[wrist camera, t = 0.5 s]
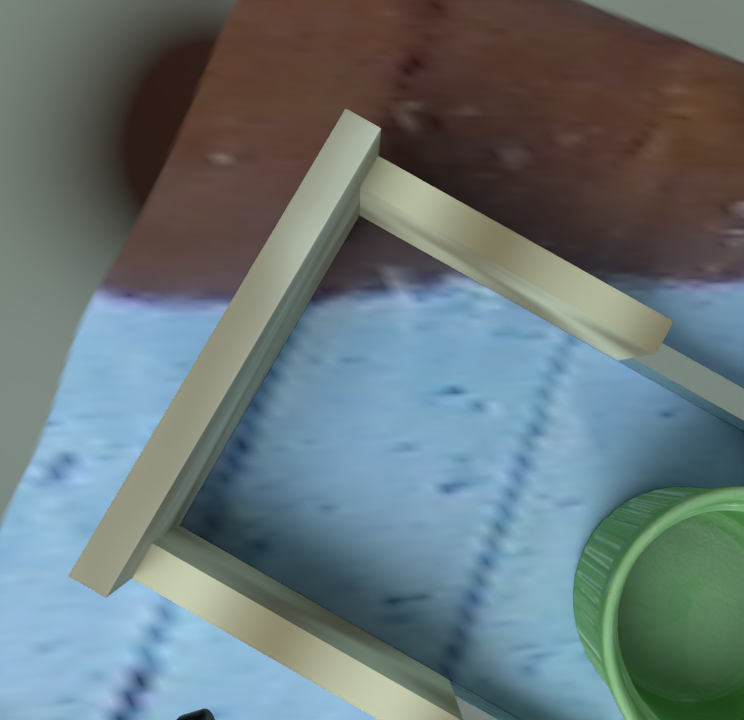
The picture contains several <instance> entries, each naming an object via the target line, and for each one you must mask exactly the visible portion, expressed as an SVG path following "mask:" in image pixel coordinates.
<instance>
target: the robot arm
mask: <svg viewBox="0 0 744 720" xmlns="http://www.w3.org/2000/svg"><path fill="white" fill-rule="evenodd" d="M177 720H215V719H214V716H213V714H212V713H211V712H210V710H208V709H201V710H198V711H194V712H191V713H188V714H184V715H182V716H180V717H179V718H178V719H177Z"/></svg>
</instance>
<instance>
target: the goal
mask: <svg viewBox="0 0 744 720" xmlns="http://www.w3.org/2000/svg"><path fill="white" fill-rule="evenodd" d="M380 134H381V128H379V127H378V126H376V125H374V124H372V123H370V122H369V121H367V120H365V119H363V118H361V117H360V116H358V115H356V114H354V113H353V112H351V111H349V110H347V109H345V111H344V112H343V114H342V116H341V117H340V119H339V121H338V122H337V124H336V126H335V128H334V129H333V131H332V133H331V134H330V136H329V138H328V139H327V141H326V143H325V144H324V146H323V148H322V149H321V151H320V153H319V155H318V156H317V158H316V160H315V161H314V163H313V165H312V166H311V168H310V170H309V171H308V173H307V175H306V176H305V178H304V180H303V181H302V183H301V185H300V187H299V188H298V190H297V192H296V193H295V195H294V197H293V198H292V200H291V202H290V203H289V205H288V207H287V208H286V210H285V212H284V213H283V215H282V217H281V219H280V220H279V222H278V224H277V225H276V227H275V229H274V230H273V232H272V234H271V235H270V237H269V239H268V240H267V242H266V244H265V245H264V247H263V249H262V251H261V252H260V254H259V256H258V257H257V259H256V261H255V262H254V264H253V266H252V267H251V269H250V271H249V272H248V274H247V276H246V278H245V279H244V281H243V283H242V284H241V286H240V288H239V289H238V291H237V293H236V294H235V296H234V298H233V299H232V301H231V303H230V304H229V306H228V308H227V310H226V311H225V313H224V315H223V316H222V318H221V320H220V321H219V323H218V325H217V326H216V328H215V330H214V331H213V333H212V335H211V336H210V338H209V340H208V342H207V343H206V345H205V347H204V348H203V350H202V352H201V353H200V355H199V357H198V358H197V360H196V362H195V363H194V365H193V367H192V368H191V370H190V372H189V374H188V375H187V377H186V379H185V380H184V382H183V384H182V385H181V387H180V389H179V390H178V392H177V394H176V395H175V397H174V399H173V400H172V402H171V404H170V406H169V407H168V409H167V411H166V412H165V414H164V416H163V417H162V419H161V421H160V422H159V424H158V426H157V427H156V429H155V431H154V433H153V434H152V436H151V438H150V439H149V441H148V443H147V444H146V446H145V448H144V449H143V451H142V453H141V454H140V456H139V458H138V459H137V461H136V463H135V465H134V466H133V468H132V470H131V471H130V473H129V475H128V476H127V478H126V480H125V481H124V483H123V485H122V486H121V488H120V490H119V491H118V493H117V495H116V497H115V498H114V500H113V502H112V503H111V505H110V507H109V508H108V510H107V512H106V513H105V515H104V517H103V518H102V520H101V522H100V523H99V525H98V527H97V529H96V530H95V532H94V534H93V535H92V537H91V539H90V540H89V542H88V544H87V545H86V547H85V549H84V550H83V552H82V554H81V556H80V557H79V559H78V561H77V562H76V564H75V566H74V567H73V569H72V571H71V572H70V574H69V577H71V578H73V579H74V580H76V581H78V582H80V583H81V584H83V585H85V586H87V587H88V588H90V589H92V590H94V591H95V592H97V593H99V594H100V595H102V596H104V597H108V596H109V595H110V594H112V593H113V592H114V591H116V590H117V589H118V588H120V587H121V586H122V585H123V584H125V583H126V582H127V581H129V580H130V579H131V578H132V579H134V580H136V581H138V582H139V583H141V584H143V585H145V586H146V587H148V588H150V589H152V590H153V591H155V592H157V593H159V594H160V595H162V596H164V597H166V598H167V599H169V600H171V601H173V602H174V603H176V604H178V605H180V606H181V607H183V608H185V609H186V610H188V611H190V612H192V613H193V614H195V615H197V616H199V617H200V618H202V619H204V620H206V621H207V622H209V623H211V624H213V625H214V626H216V627H218V628H220V629H221V630H223V631H225V632H227V633H228V634H230V635H232V636H234V637H235V638H237V639H239V640H241V641H242V642H244V643H246V644H247V645H249V646H251V647H253V648H254V649H256V650H258V651H260V652H261V653H263V654H265V655H267V656H268V657H270V658H272V659H274V660H275V661H277V662H279V663H281V664H282V665H284V666H286V667H288V668H289V669H291V670H293V671H295V672H296V673H298V674H300V675H302V676H303V677H305V678H307V679H308V680H310V681H312V682H314V683H315V684H317V685H319V686H321V687H322V688H324V689H326V690H328V691H329V692H331V693H333V694H335V695H336V696H338V697H340V698H342V699H343V700H345V701H347V702H349V703H350V704H352V705H354V706H356V707H357V708H359V709H361V710H363V711H364V712H366V713H368V714H369V715H371V716H373V717H375V718H376V719H378V720H519V719H517V718H515V717H514V716H512V715H510V714H508V713H507V712H505V711H503V710H501V709H500V708H498V707H496V706H494V705H493V704H491V703H489V702H488V701H486V700H484V699H482V698H481V697H479V696H477V695H475V694H474V693H472V692H470V691H468V690H467V689H465V688H463V687H461V686H460V685H458V684H456V683H454V682H453V681H451V680H449V679H447V678H446V677H444V676H442V675H440V674H439V673H437V672H435V671H433V670H432V669H430V668H428V667H426V666H425V665H423V664H421V663H419V662H418V661H416V660H414V659H412V658H411V657H409V656H407V655H405V654H404V653H402V652H400V651H398V650H397V649H395V648H393V647H391V646H390V645H388V644H386V643H384V642H383V641H381V640H379V639H377V638H376V637H374V636H372V635H370V634H369V633H367V632H365V631H363V630H362V629H360V628H358V627H356V626H355V625H353V624H351V623H349V622H348V621H346V620H344V619H342V618H341V617H339V616H337V615H335V614H334V613H332V612H330V611H328V610H327V609H325V608H323V607H321V606H320V605H318V604H316V603H314V602H313V601H311V600H309V599H307V598H306V597H304V596H302V595H300V594H299V593H297V592H295V591H293V590H292V589H290V588H288V587H286V586H285V585H283V584H281V583H279V582H278V581H276V580H274V579H272V578H271V577H269V576H267V575H265V574H264V573H262V572H260V571H258V570H257V569H255V568H253V567H251V566H250V565H248V564H246V563H244V562H243V561H241V560H239V559H237V558H236V557H234V556H232V555H230V554H229V553H227V552H225V551H223V550H222V549H220V548H218V547H216V546H215V545H213V544H211V543H209V542H208V541H206V540H204V539H202V538H201V537H199V536H197V535H195V534H194V533H192V532H190V531H188V530H187V529H185V528H183V527H181V526H180V523H181V521H182V520H183V518H184V516H185V515H186V513H187V511H188V509H189V508H190V506H191V504H192V502H193V501H194V499H195V497H196V496H197V494H198V492H199V490H200V489H201V487H202V485H203V484H204V482H205V480H206V478H207V477H208V475H209V473H210V472H211V470H212V468H213V466H214V465H215V463H216V461H217V460H218V458H219V456H220V454H221V453H222V451H223V449H224V447H225V446H226V444H227V442H228V441H229V439H230V437H231V435H232V434H233V432H234V430H235V429H236V427H237V425H238V423H239V422H240V420H241V418H242V417H243V415H244V413H245V411H246V410H247V408H248V406H249V404H250V403H251V401H252V399H253V398H254V396H255V394H256V392H257V391H258V389H259V387H260V386H261V384H262V382H263V380H264V379H265V377H266V375H267V374H268V372H269V370H270V368H271V367H272V365H273V363H274V361H275V360H276V358H277V356H278V355H279V353H280V351H281V349H282V348H283V346H284V344H285V343H286V341H287V339H288V337H289V336H290V334H291V332H292V331H293V329H294V327H295V325H296V324H297V322H298V320H299V318H300V317H301V315H302V313H303V312H304V310H305V308H306V306H307V305H308V303H309V301H310V300H311V298H312V296H313V294H314V293H315V291H316V289H317V288H318V286H319V284H320V282H321V281H322V279H323V277H324V275H325V274H326V272H327V270H328V269H329V267H330V265H331V263H332V262H333V260H334V258H335V257H336V255H337V253H338V251H339V250H340V248H341V246H342V245H343V243H344V241H345V239H346V238H347V236H348V234H349V232H350V231H351V229H352V227H353V226H354V224H355V222H356V220H357V219H358V217H359V215H360V216H361V217H363V218H365V219H367V220H368V221H370V222H372V223H374V224H376V225H377V226H379V227H381V228H383V229H384V230H386V231H388V232H390V233H392V234H393V235H395V236H397V237H399V238H401V239H402V240H404V241H406V242H408V243H409V244H411V245H413V246H415V247H417V248H418V249H420V250H422V251H424V252H425V253H427V254H429V255H431V256H433V257H434V258H436V259H438V260H440V261H441V262H443V263H445V264H447V265H449V266H450V267H452V268H454V269H456V270H457V271H459V272H461V273H463V274H465V275H466V276H468V277H470V278H472V279H473V280H475V281H477V282H479V283H481V284H482V285H484V286H486V287H488V288H490V289H491V290H493V291H495V292H497V293H498V294H500V295H502V296H504V297H506V298H507V299H509V300H511V301H513V302H514V303H516V304H518V305H520V306H522V307H523V308H525V309H527V310H529V311H530V312H532V313H534V314H536V315H538V316H539V317H541V318H543V319H545V320H546V321H548V322H550V323H552V324H554V325H555V326H557V327H559V328H561V329H562V330H564V331H566V332H568V333H570V334H571V335H573V336H575V337H577V338H578V339H580V340H582V341H584V342H586V343H587V344H589V345H591V346H593V347H595V348H596V349H598V350H600V351H602V352H603V353H605V354H607V355H609V356H611V357H612V358H614V359H616V360H618V361H619V362H621V363H623V364H625V365H627V366H628V367H630V368H632V369H634V370H635V371H637V372H639V373H641V374H643V375H644V376H646V377H648V378H650V379H651V380H653V381H655V382H657V383H659V384H660V385H662V386H664V387H666V388H667V389H669V390H671V391H673V392H675V393H676V394H678V395H680V396H682V397H684V398H685V399H687V400H689V401H691V402H692V403H694V404H696V405H698V406H700V407H701V408H703V409H705V410H707V411H708V412H710V413H712V414H714V415H716V416H717V417H719V418H721V419H723V420H724V421H726V422H728V423H730V424H732V425H733V426H735V427H737V428H739V429H740V430H742V431H744V389H743V388H742V387H740V386H738V385H736V384H735V383H733V382H731V381H729V380H727V379H726V378H724V377H722V376H720V375H718V374H717V373H715V372H713V371H711V370H710V369H708V368H706V367H704V366H702V365H701V364H699V363H697V362H695V361H694V360H692V359H690V358H688V357H686V356H685V355H683V354H681V353H679V352H677V351H676V350H674V349H672V348H670V347H669V346H667V345H665V344H663V343H662V342H663V340H664V338H665V337H666V335H667V333H668V331H669V329H670V327H671V325H672V323H673V321H672V320H670V319H669V318H667V317H665V316H663V315H662V314H660V313H658V312H656V311H654V310H653V309H651V308H649V307H647V306H645V305H644V304H642V303H640V302H638V301H637V300H635V299H633V298H631V297H629V296H628V295H626V294H624V293H622V292H620V291H619V290H617V289H615V288H613V287H612V286H610V285H608V284H606V283H604V282H603V281H601V280H599V279H597V278H595V277H594V276H592V275H590V274H588V273H587V272H585V271H583V270H581V269H579V268H578V267H576V266H574V265H572V264H570V263H569V262H567V261H565V260H563V259H562V258H560V257H558V256H556V255H554V254H553V253H551V252H549V251H547V250H545V249H544V248H542V247H540V246H538V245H537V244H535V243H533V242H531V241H529V240H528V239H526V238H524V237H522V236H521V235H519V234H517V233H515V232H513V231H512V230H510V229H508V228H506V227H504V226H503V225H501V224H499V223H497V222H496V221H494V220H492V219H490V218H488V217H487V216H485V215H483V214H481V213H479V212H478V211H476V210H474V209H472V208H471V207H469V206H467V205H465V204H463V203H462V202H460V201H458V200H456V199H454V198H453V197H451V196H449V195H447V194H446V193H444V192H442V191H440V190H438V189H437V188H435V187H433V186H431V185H429V184H428V183H426V182H424V181H422V180H421V179H419V178H417V177H415V176H413V175H412V174H410V173H408V172H406V171H404V170H403V169H401V168H399V167H397V166H396V165H394V164H392V163H390V162H388V161H387V160H385V159H383V158H381V157H379V156H378V155H379V145H380Z"/></svg>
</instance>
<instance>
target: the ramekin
mask: <svg viewBox="0 0 744 720" xmlns="http://www.w3.org/2000/svg"><path fill="white" fill-rule="evenodd" d="M573 609H574V615H575V622H576V627H577V630H578V634H579V637H580V641H581V643H582V645H583V647H584V650H585V653H586V655H587V657H588V658H589V660H590V661H591V663H592V665H593V666H594V668H595V670H596V671H597V673H598V674H599V676H600V677H601V678H602V680H603V681H604V682H605V684H606V685H607V686H608V688H609V689H610V691H611V693H612V695H613V698H614V700H615V702H616V704H617V706H618V708H619V710H620V712H621V713H622V715H623V717H624V718H625V720H744V486H726V487H716V488H711V489H707V488H696V487H668V488H662V489H656V490H652V491H650V492H647V493H644V494H640V495H638V496H636V497H634V498H632V499H630V500H628V501H626V502H625V503H624V504H622V505H621V506H620V507H618V508H617V509H615V510H614V511H613V512H612V513H611V514H610V515H609V516H608V517H606V518H605V519H604V520H603V521H602V522H601V523H600V525H599V526H598V527H597V528H596V530H595V531H594V532H593V534H592V535H591V537H590V539H589V540H588V542H587V544H586V546H585V548H584V550H583V553H582V555H581V558H580V560H579V563H578V568H577V571H576V574H575V582H574V590H573Z"/></svg>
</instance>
